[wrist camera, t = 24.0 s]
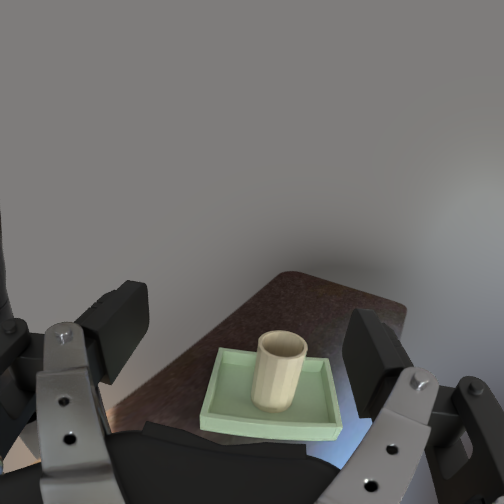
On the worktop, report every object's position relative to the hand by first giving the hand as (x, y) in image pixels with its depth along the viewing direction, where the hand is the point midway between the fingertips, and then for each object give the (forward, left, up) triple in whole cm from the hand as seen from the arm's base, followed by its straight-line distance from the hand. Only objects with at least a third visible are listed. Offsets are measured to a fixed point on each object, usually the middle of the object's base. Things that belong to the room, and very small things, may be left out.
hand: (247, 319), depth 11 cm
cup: (+4, +20, -25) cm, 33 cm away
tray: (+4, +20, -26) cm, 33 cm away
